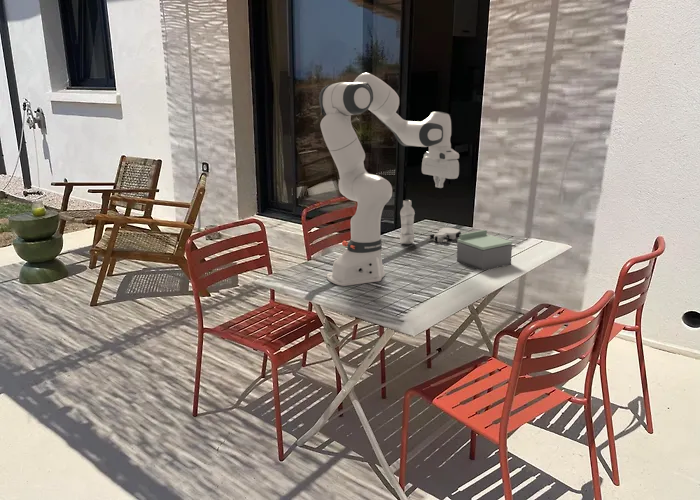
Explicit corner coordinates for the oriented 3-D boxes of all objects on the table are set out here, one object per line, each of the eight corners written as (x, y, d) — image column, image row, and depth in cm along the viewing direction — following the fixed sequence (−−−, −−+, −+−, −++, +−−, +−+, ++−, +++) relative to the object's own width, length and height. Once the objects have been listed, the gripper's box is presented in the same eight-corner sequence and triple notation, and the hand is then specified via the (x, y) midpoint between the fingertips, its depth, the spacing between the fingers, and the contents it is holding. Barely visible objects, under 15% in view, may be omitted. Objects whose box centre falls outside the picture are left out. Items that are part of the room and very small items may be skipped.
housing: (481, 270, 215) (482, 250, 213) (456, 261, 228) (457, 242, 225) (511, 264, 222) (512, 244, 219) (485, 255, 234) (485, 236, 232)
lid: (482, 250, 213) (483, 242, 212) (457, 241, 225) (457, 234, 224) (512, 244, 219) (512, 236, 219) (485, 236, 232) (486, 229, 231)
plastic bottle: (397, 242, 257) (397, 200, 252) (411, 241, 259) (411, 198, 254) (403, 246, 251) (402, 202, 246) (416, 244, 253) (417, 201, 248)
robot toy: (446, 247, 251) (465, 238, 260) (446, 238, 249) (465, 229, 259) (424, 243, 259) (444, 234, 269) (424, 233, 258) (444, 225, 268)
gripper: (418, 151, 231) (417, 184, 235) (449, 155, 214) (448, 191, 218) (430, 150, 234) (430, 183, 238) (462, 154, 217) (461, 189, 221)
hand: (439, 187), depth 228 cm, fingers closed
